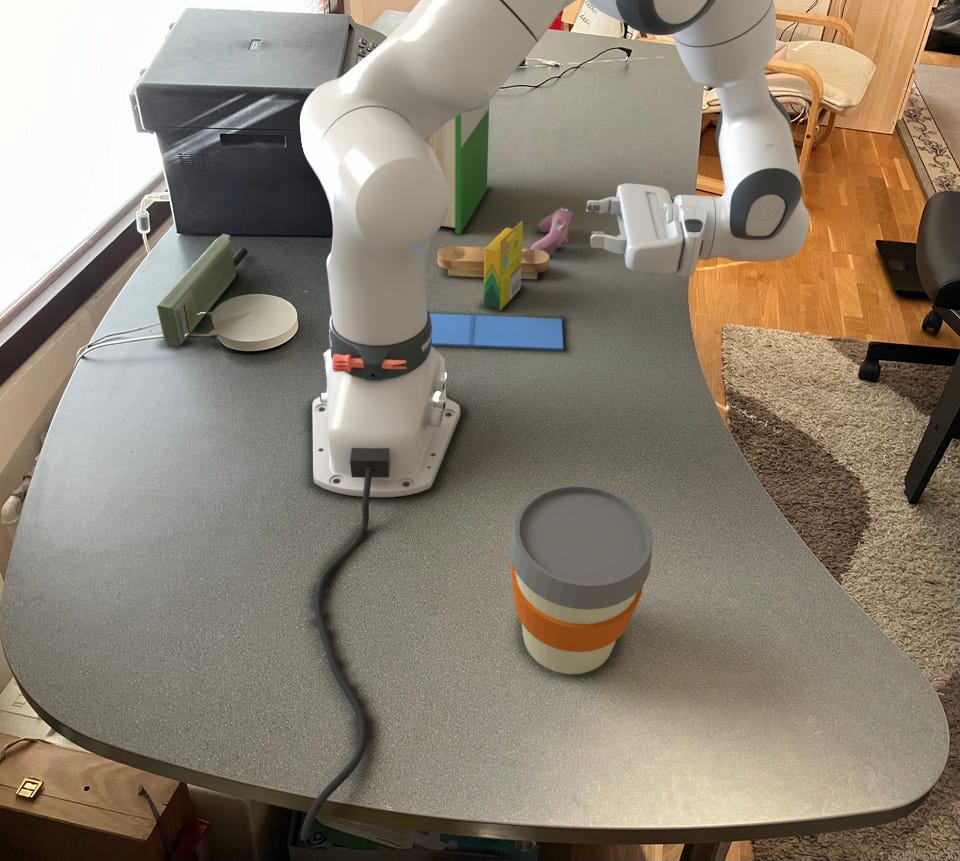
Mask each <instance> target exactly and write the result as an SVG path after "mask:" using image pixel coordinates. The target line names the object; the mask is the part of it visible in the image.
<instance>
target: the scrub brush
mask: <svg viewBox="0 0 960 861" xmlns="http://www.w3.org/2000/svg"><path fill="white" fill-rule="evenodd" d="M486 247H487V246H463V245H462V246H457V245H449V246H444V247H442V248H439V250H438V251H437V256H436V257H437V264H438V266H439V267H441V268H443V269H446V270H447V276H448V277H469V278H470V277H471V278H484V251H485V248H486ZM549 266H550V255H549V254H547V253H546V252H544V251H542V250H538V249H531V248H522V261H521V280H522V279H523V280H538V273H542V272H545V271H547V270H548V269H549Z"/></svg>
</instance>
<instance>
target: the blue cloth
mask: <svg viewBox="0 0 960 861" xmlns="http://www.w3.org/2000/svg"><path fill="white" fill-rule="evenodd" d="M429 314H430V317H431V323H432V346H441V347H461V348H462V347H463V348H464V347H465V348H487V349H488V348H490V349H492V348H493V349H514V350H516V349H517V350H541V351H564V334H563V333H564V332H563V319H562V318H557V317H534V316H533V317H532V316H531V317H529V316H506V315H505V316H504V315H480V314H478V315H477V314H455V313H454V314H453V313H431V312H429Z"/></svg>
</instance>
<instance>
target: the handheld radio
mask: <svg viewBox="0 0 960 861" xmlns="http://www.w3.org/2000/svg"><path fill="white" fill-rule="evenodd" d="M230 237H231V235H230V234H226V233H222V234H221V235H220V236H218V237H217V238H216V239H214V241H213V242H212V243H211V245H209V247H207V249H206V250H205V251H203V253H202V255H200V257H199V258H197V260H196V261H195V262H194V263H193V264H192V265H191V266H190V267H189V269H188V270H187V271H186V272H185V273H184V274H183V275H182V277H181V278H179V280H178V281H177V282H176V283H175V284H174V285H173V287H172V288H171V289H170V290H169V291H168V292H167V293H166V294H165V295H164V297H163V298H162V299H161V300H160V301H159V302H158V303H157V305H156V309H157V314H158V318H159V323H160V327H161V331H162V336H163V340H164V341H163V342H164V344H165V345H166V346H167V347H174V348H175V347H176V348H178V347H180V346H181V345H182V344H183V343H184V342H185V340H186V339H187V338H188V336H190V334H191V332H193V330H194V329H195V328H196V327H197V325H198V324H199V323H200V322H201V320H203V318H204V317H205V316H206V314H201V315H197V314H198V313H200V312H207V313H208V312H209V311H210V309H211V308H212V307H213V306H214V304H215V303H216V302H217V300H218V299H219V298H220V297H221V296H222V294H223V293H224V292H225V291H226V290H227V288H228V287H229V286H230V284H231V283H232V282H233V281H234V280H235V278H236V276H237V275H236V267H237V266H238V265H239V264H240V263H241V262H242V261H243V259H244V258H245V257H246V256H247V255H248V253H249V252H248V250H247V249H246V248H245V247H240V249H239V250H238V251H237V252H236V253H235V254H234V252H233V246H232V242H231V240H230ZM188 333H189V334H188ZM185 334H188V335H187V336H186V337H184V335H185Z"/></svg>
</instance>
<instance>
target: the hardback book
mask: <svg viewBox="0 0 960 861" xmlns="http://www.w3.org/2000/svg"><path fill="white" fill-rule="evenodd" d="M489 120H490V101H489V102H488V103H487V104H486V105H484V106H483V107H481V108H479V109H477V110H473V111H468V112H465V113H462V114H460V115H458V116H456V117H455V118H453V119H451V120H450V121H448V122H447V123H445V124H444V125H443V126H441V127H440V128H439V129H437V130H436V131H435V132H434V133H432V134H431V135H430V136H429V137H428V138H427V139H426V140H425V141H426V142H427V143H428V145H429V146H430V147H431V148H432V149H433V151H434V153H435V154H436V156H437V158H438V160H439V163H440V165H441V167H442V170H443V173H444V176H445V179H446V182H447V185H448V188H449V195H450V201H449V208H448V212H447V215H446V217H445V220H444V222H443V223H442V225H441V227H442V226H443V227H448V228H454V233H455V234H457V235H461V234H462V232H463V231H464V228H466V225H467V224H468V222H469V221H470V219H471V217H472V216H473V214H474V212H475V210H476V209H477V207H478V206H479V204H480V202H481V200H482V199H483V197H484V195H485V193H487V190H488V164H489V130H490V128H489V125H490V123H489V122H490V121H489Z"/></svg>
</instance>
